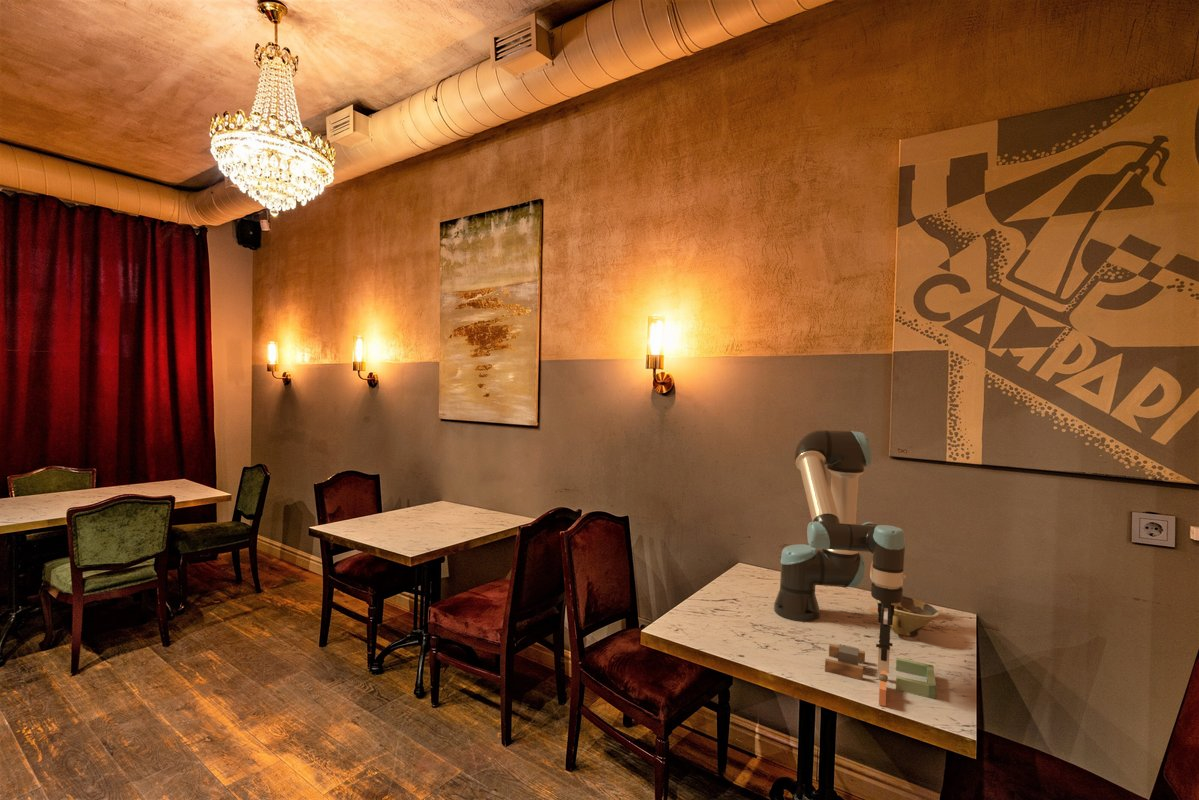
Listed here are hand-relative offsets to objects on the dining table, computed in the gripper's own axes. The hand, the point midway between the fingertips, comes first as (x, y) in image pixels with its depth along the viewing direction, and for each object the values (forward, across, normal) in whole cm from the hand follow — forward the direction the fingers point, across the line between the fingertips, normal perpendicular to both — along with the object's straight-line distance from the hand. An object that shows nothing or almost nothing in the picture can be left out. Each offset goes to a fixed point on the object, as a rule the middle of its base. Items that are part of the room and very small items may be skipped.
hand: (883, 670), depth 154 cm
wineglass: (+4, +55, +2) cm, 55 cm away
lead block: (+3, +3, +9) cm, 10 cm away
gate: (+2, -10, 0) cm, 10 cm away
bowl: (+3, +39, -6) cm, 39 cm away
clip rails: (+3, +3, +10) cm, 10 cm away
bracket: (+3, +3, -8) cm, 9 cm away
